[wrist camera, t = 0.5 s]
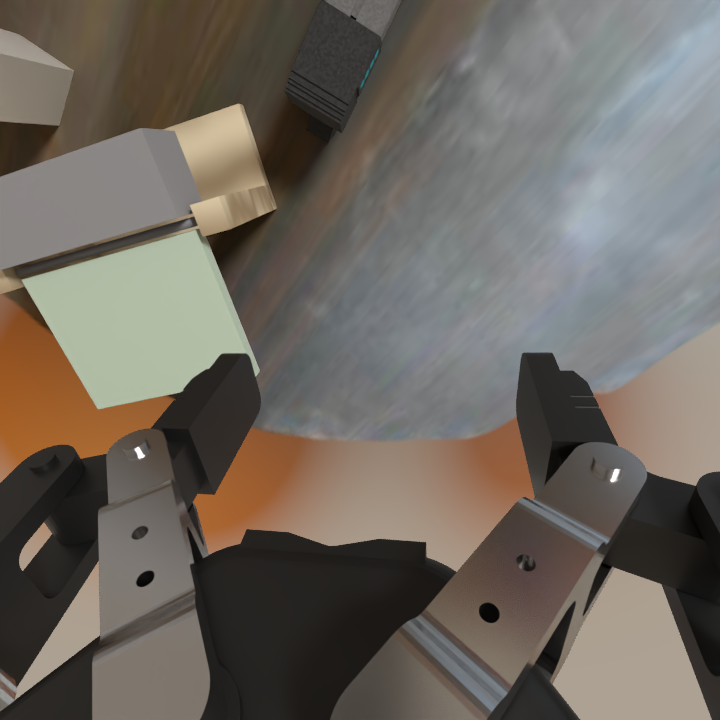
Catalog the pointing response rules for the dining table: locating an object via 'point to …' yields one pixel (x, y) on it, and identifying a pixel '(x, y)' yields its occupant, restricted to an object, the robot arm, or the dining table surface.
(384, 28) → the gun
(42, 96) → the grey rectangular block
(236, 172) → the frame
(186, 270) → the trapdoor
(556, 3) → the dining table surface
